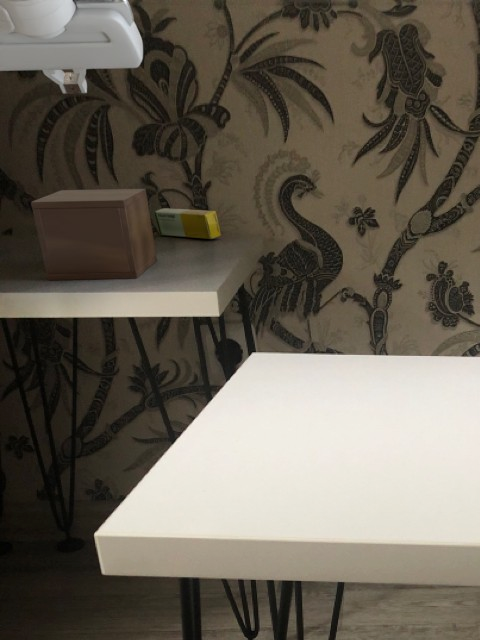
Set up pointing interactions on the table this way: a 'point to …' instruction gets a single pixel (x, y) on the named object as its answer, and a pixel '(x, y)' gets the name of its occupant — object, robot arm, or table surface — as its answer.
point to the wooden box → (95, 234)
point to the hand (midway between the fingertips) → (75, 89)
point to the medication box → (188, 223)
